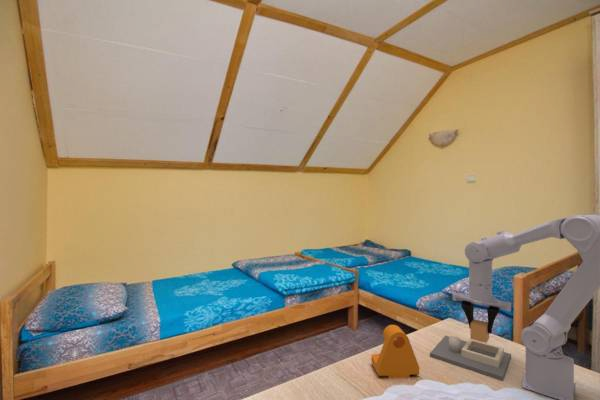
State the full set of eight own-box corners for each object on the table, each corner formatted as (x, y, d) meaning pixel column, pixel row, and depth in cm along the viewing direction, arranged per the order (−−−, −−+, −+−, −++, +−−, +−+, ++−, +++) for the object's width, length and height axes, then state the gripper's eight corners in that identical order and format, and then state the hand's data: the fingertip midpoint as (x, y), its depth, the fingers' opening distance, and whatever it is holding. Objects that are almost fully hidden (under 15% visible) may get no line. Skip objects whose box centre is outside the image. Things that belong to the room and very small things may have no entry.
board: (511, 357, 89) (511, 342, 89) (502, 380, 78) (502, 363, 78) (445, 338, 101) (445, 324, 101) (429, 356, 90) (429, 341, 90)
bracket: (407, 362, 87) (407, 320, 87) (419, 377, 80) (419, 331, 80) (370, 363, 86) (370, 321, 86) (378, 378, 79) (378, 332, 79)
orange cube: (489, 338, 88) (489, 322, 88) (486, 343, 85) (486, 327, 85) (473, 334, 91) (473, 319, 91) (470, 338, 88) (470, 323, 88)
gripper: (449, 281, 90) (449, 327, 90) (508, 291, 81) (508, 342, 81) (456, 276, 96) (456, 320, 96) (512, 285, 86) (512, 333, 86)
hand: (480, 329), depth 89 cm, fingers closed on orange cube, 4 cm apart
